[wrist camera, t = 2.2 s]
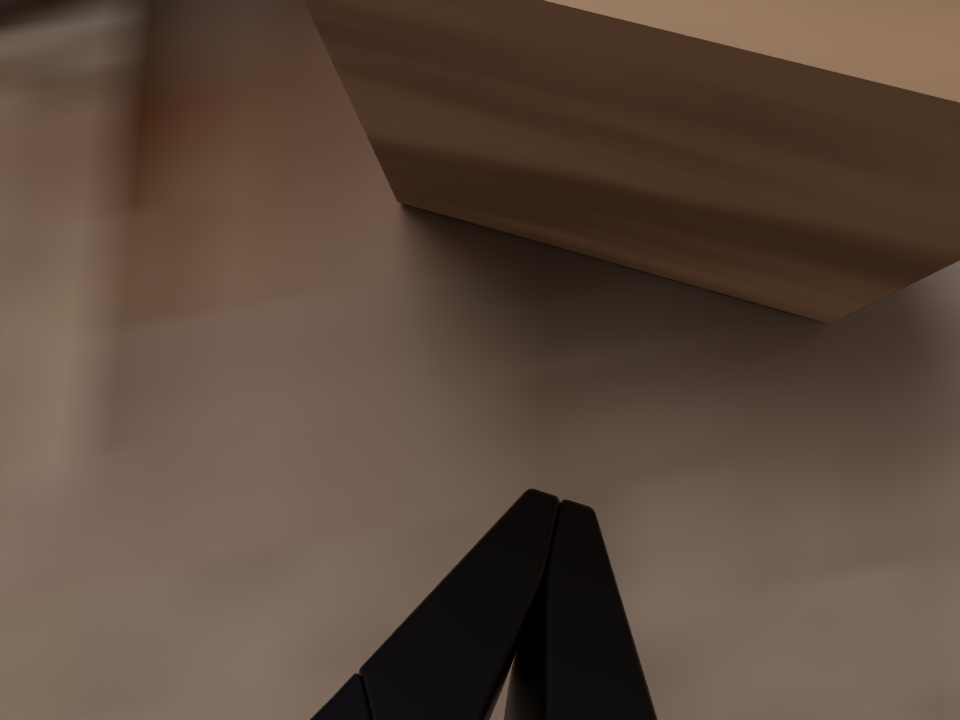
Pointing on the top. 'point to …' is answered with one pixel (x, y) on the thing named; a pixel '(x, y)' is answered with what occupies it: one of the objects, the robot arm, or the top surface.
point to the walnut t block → (676, 132)
